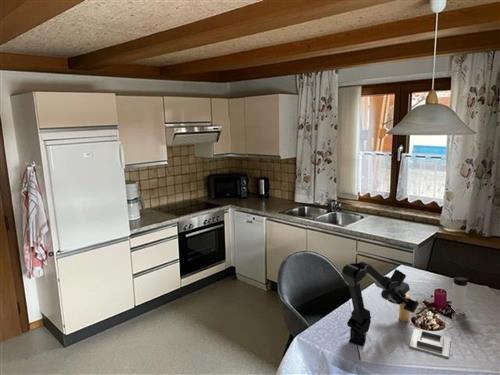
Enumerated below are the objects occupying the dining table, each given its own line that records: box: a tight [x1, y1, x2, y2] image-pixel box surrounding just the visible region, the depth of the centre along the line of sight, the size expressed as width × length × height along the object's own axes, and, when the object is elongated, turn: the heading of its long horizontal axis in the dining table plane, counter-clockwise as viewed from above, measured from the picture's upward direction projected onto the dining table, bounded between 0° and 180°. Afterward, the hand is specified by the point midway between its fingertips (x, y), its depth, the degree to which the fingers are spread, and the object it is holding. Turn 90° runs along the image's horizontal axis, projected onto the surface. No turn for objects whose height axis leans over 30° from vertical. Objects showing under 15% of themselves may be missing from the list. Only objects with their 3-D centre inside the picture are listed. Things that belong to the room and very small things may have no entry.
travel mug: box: [450, 276, 468, 316], centre depth 194 cm, size 6×7×20 cm
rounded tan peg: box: [398, 293, 411, 322], centre depth 191 cm, size 5×5×13 cm
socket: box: [409, 328, 452, 359], centre depth 171 cm, size 16×16×3 cm
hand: (406, 306), depth 191 cm, fingers open, 5 cm apart
